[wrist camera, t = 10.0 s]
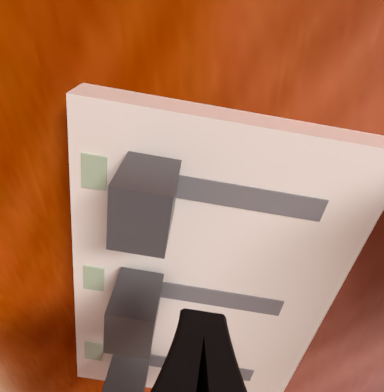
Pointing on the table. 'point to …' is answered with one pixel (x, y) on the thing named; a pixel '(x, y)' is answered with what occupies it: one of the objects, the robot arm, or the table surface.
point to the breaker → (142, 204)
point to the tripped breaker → (126, 374)
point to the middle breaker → (132, 313)
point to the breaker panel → (223, 223)
